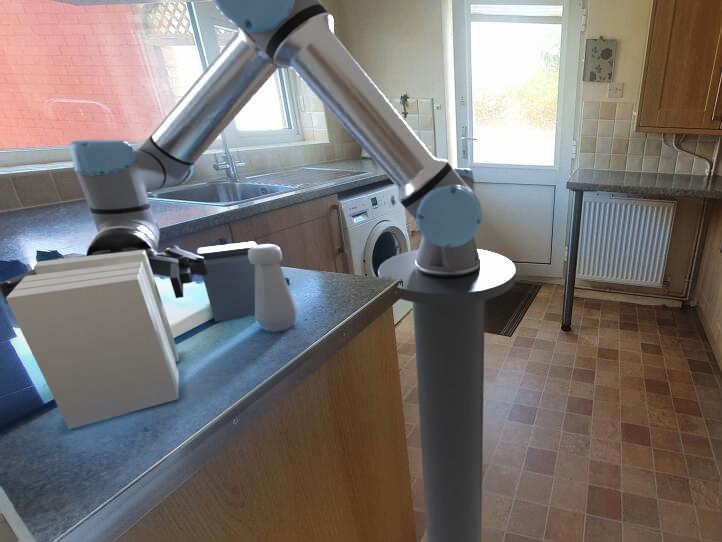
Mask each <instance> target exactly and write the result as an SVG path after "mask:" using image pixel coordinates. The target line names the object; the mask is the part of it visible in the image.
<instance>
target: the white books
mask: <svg viewBox="0 0 722 542" xmlns="http://www.w3.org/2000/svg"><path fill="white" fill-rule="evenodd" d="M6 300H7V302H8V304H7V305H8V306H9V309H10V311H11V313H12V314H13V317H14V319H15V321H16V323H17V325H18V327H19V330H20V331H21V334H22V335H23V338H24V339H25V341H26V343H27V346H28V347H29V350H30V352H31V354H32V356H33V358H34V360H35V362H36V364H37V366H38V368H39V370H40V373H41V374H42V376H43V379H44V381H45V383H46V385H47V387H48V389H49V391H50V393H51V395H52V397H53V399H54V401H55V404H56V406H57V408H58V410H59V412H60V414H61V416H62V419H64V422H65V424H66V426H67V428H68V430H73V429H76V428H80V427H83V426H88V425H91V424H95V423H98V422H101V421H102V422H103V421H105V420H109V419H112V418H115V417H120V416H123V415H127V414H130V413H134V412H136V411H141V410H145V409H148V408H152V407H155V406H160V405H162V404H166V403H169V402H174V401H175V400H179V399H180V397H179V395H180V393H179V392H180V391H179V387H180V386H179V385H180V381H179V380H180V372H179V369H178V366H177V362H175V360H174V356H173V353H172V350H171V347H170V344H169V341H168V338H167V335H166V332H165V329H164V326H163V323H162V320H161V317H160V314H159V311H158V308H157V305H156V302H155V299H154V296H153V293H152V290H151V287H150V284H149V281H148V278H147V275H146V271H145V268H144V265H143V262H133V263H125V264H117V265H109V266H102V267H94V268H86V269H78V270H70V271H62V272H54V273H46V274H38V275H30V276H25V277H24V278H23V279H22V281H21V282H20V283H19V284H18V285H17V286H16V287H15V288H14V289H13V291H12V292H11V293H10V294H9V295H8V296H7V297H6Z"/></svg>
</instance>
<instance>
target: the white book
mask: <svg viewBox="0 0 722 542" xmlns="http://www.w3.org/2000/svg"><path fill="white" fill-rule="evenodd" d="M133 262H143V265H144V268H145V271H146V275H147V278H148V281H149V284H150V287H151V290H152V293H153V296H154V299H155V302H156V305H157V308H158V311H159V314H160V317H161V320H162V323H163V326H164V329H165V332H166V335H167V338H168V341H169V344H170V347H171V350H172V353H173V356H174V360H175V363H177V362H179V359H180V358H179V357H180V356H179V355H180V354H179V351H178V348H177V345H176V342H175V339H174V336H173V333H172V329H171V326H170V323H169V319H168V317H167V314H166V311H165V306H164V304H163V300H162V298H161V294H160V292H159V288H158V285H157V281H156V280H155V276H154V275H153V273H152V270H151V266H150V263H149V260H148V257H147V254H146V251H145V250H137V251H128V252H119V253H111V254H102V255H93V256H86V255H85V256H75V257H66V258H63V259H57V260H53V259H49V260H42V261H41V260H40V261H37V263H36V264H35V265H34V266H33V269H35V271H36V273H37V275H38V274H46V273H54V272H62V271H70V270H78V269H86V268H94V267H102V266H109V265H117V264H125V263H133Z"/></svg>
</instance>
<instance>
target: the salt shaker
mask: <svg viewBox="0 0 722 542" xmlns="http://www.w3.org/2000/svg"><path fill="white" fill-rule="evenodd" d="M248 259H249V262H250V263H251V264H254V265H255V314H254V319H255V320H256V322H257V323H258V324H259V325H260V326H261V327H262V329H263V330H265V331H268V332H271V333H277V332H282V331H287V330H289V329H290V328H291V327H293V326H294V325H295V323H296V319H297V316H298V307H297V305H296V302H295V300H294V297H293V295H292V292H291V290H290V287H289V284H288V282H287V279H286V277H285V275H284V271H283V269H282V266H281V264H280V262H281V261H282V260H283V253H282V250H281V248H280V247H279V245H276V244H271V243H266V244H265V243H262V244H257V246H254V247H252V248H250V249H249V250H248Z"/></svg>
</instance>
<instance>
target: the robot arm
mask: <svg viewBox="0 0 722 542" xmlns="http://www.w3.org/2000/svg"><path fill="white" fill-rule="evenodd" d="M212 3H213V4H214V6H215V7H216V8H217V10H218V11H219V12H220V14H222V15H223V16H224V17H225V18H226V19H227V20H228V21H229V22H230V23H232V24H233V26H235V28H236V33H235V34H234V35H233V36H232V37H231V39H230V40H229V41H228V42H227V44H225V46H223V48H222V50H220V52H219V53H218V54H217V56H216V57H215V58H214V59H213V60H212V61H211V63H210V64H209V65H208V66H207V68H205V70H204V71H203V72H202V73H201V74H200V76H199V77H198V78H197V79H196V81H195V82H194V83H193V84H192V85H191V86H190V88H189V89H187V91H186V92H185V94H184V95H183V96H182V97H181V98H180V99H179V100H178V102H177V103H176V104H175V106H174V107H173V108H172V109H171V110H170V112H169V113H168V114H167V115H166V116H165V118H163V120H162V121H161V122H160V123H159V125H157V127H156V129H154V131H153V132H152V133H151V134H150V136H149V137H148V138H147V139H146V140H145V142H143V144H141V146H140V147H138V148H133V146H132V145H131V143H130V142H129V141H126V140H124V139H79V140H78V139H77V140H73V141H71V142H70V143H69V144H68V150H69V154H70V157H71V160H72V163H73V164H72V166H73V170H74V172H75V174H76V176H77V179H78V182H79V184H80V187H81V190H82V192H83V194H84V197H85V200H86V203H87V205H88V207H89V210H90V214H91V217H92V219H93V222H94V225H95V228H96V231H97V232H96V234H95V235H94V236H93V238H92V240H91V242H90V244H89V245H88V247H87V249H86V255H85V256H93V255H102V254H111V253H119V252H128V251H137V250H145V251H146V254H147V257H148V260H149V263H150V266H151V270H152V273H153V276H154V275H158V276H161V277H162V276H163V277H168V278H169V280H170V283H171V287H172V290H173V293H174V296H175V299H180V298H184V284H185V285H186V284H191V283H193V278H194V275H197V276H202V277H203V276H204V275H207V274H208V271H207V267H206V264H205V260H204V257H201V256H198V254H196V253H195V254H194V253H192V252H189V251H186V250H184V249H180V248H179V246H178V245H170V246H168V247H167V248H165V249H163V251H162V252H158V247H159V246H158V245H159V243H160V238H161V230H160V226H159V223H158V222H157V221H156V220H155V218H154V215H153V211H152V208H151V204H150V201H149V197H148V194H149V193H153V192H155V191H160V190H163V189H167V188H173V187H177V186H180V185H182V184H183V183H185V182H187V181H189V180H190V179H191V178H192V176H193V174H194V164H196V162H197V161H198V160H199V159H200V158H201V157H202V155H203V154H204V153H205V152H206V151H207V150H208V149H209V148H210V147H211V145H212V144H213V143H214V142H215V141H216V139H217V138H218V137H219V136H220V135H221V134H222V133H223V131H225V129H226V128H227V127H228V126H229V125H230V124H231V122H232V121H233V120H234V119H235V118H236V117H237V116H238V115H239V114H240V112H241V111H242V110H243V108H244V107H245V106H246V105H247V104H248V103H249V102H250V101H251V100H252V99H253V97H254V96H255V95H256V94H257V93H258V92H259V90H260V89H261V88H262V87H263V86H264V85H265V84H266V82H267V81H268V80H269V79H270V78H271V77H272V76H273V74H275V72H276V71H277V70H278V69H288V68H290V69H291V70H293V71H294V72H295V74H297V76H299V78H300V79H301V80H302V81H303V82H304V83H305V85H306V86H307V87H308V88H309V89H310V90H311V91H312V92H313V94H314V95H315V96H316V97H317V98H318V99H319V100H320V102H321V103H323V105H324V106H325V107H326V108H327V110H329V112H331V114H332V115H333V116H334V117H335V118H336V119H337V121H338V122H339V123H340V124H341V125H342V126H343V127H344V129H345V130H346V131H347V132H348V133H349V134H350V135H351V136H352V138H353V139H354V140H355V141H356V142H357V144H358V145H360V146H361V148H362V149H363V150H364V151H365V152H366V154H368V156H369V157H370V158H371V159H372V160H373V161H374V162H375V163H376V165H377V166H378V167H379V168H380V169H381V171H383V172H384V174H385V175H386V176H387V177H388V178H389V179H390V180H391V181H392V183H393V184H394V185H395V186H396V187H397V189H398V198H397V199H398V202H399V203H400V204H401V205H402V207H404V209H405V210H406V211H407V212H408V213H409V214H410V215H411V216H412V218H414V220H415V221H416V224H417V226H418V230H420V233H421V238H420V239H421V240H420V243H419V246H418V249H417V250H418V253H417V257H416V261H415V263H416V270H417V271H418V272H419V273H421V274H423V275H425V276H429V277H434V278H445V279H449V278H461V277H466V276H470V275H472V274H475V273H476V272H478V271H479V270H480V268H481V260H480V256H479V253H478V250H477V249H478V248H477V243H476V242H475V241H476V240H475V238H474V237H475V235H477V233H478V231H479V229H480V227H481V223H482V215H483V214H482V213H483V212H482V207H481V203H480V201H479V199H478V197H477V196H476V195H475V193H474V184H475V178H474V173H473V171H472V170H471V169H470V168H464V167H463V168H461V167H458V168H457V167H453V166H452V165H451V164H450V162H449V161H448V160H447V159H444V158H436V157H435V156H434V155H432V153H431V152H430V151H429V150H428V148H427V147H426V146H425V144H424V143H423V141H421V140H420V139H419V137H418V136H417V135H416V134H415V132H414V131H413V130H412V128H411V127H410V126H409V125H408V123H407V122H406V121H405V120H404V119H403V117H402V116H401V115H400V113H398V111H397V109H395V108H394V106H393V105H392V104H391V103H390V101H389V100H388V99H387V98H386V96H385V95H384V94H383V92H381V90H380V89H379V87H377V85H376V84H375V82H374V81H372V79H371V78H370V77H369V75H368V74H367V73H366V72H365V70H364V69H363V68H362V67H361V66H360V64H359V63H358V62H357V60H355V58H354V57H353V56H352V55H351V53H350V51H348V50H347V48H346V47H345V46H344V45H343V43H342V42H341V40H339V38H338V37H337V35H335V33H334V18H333V16H332V14H331V13H330V11H329V10H328V9H327V8H326V7H325V5H324V4H323V3H322V2H321V0H212ZM57 259H64V258H63V257H56V258H53V259H52V260H57ZM30 275H37V273H36V271H35V269H34V268H33V269H31V270H27V271H26V272H23V273H21V274H18V275H16V276H13V277H11V278H8V279H6V280H4V281H1V282H0V293H1V295H2V297H3V299H4V301H5V303H6V304H7V305H9V304H8V302H7V300H6V297H7V296H8V295H9V294H10V293H11V292H12V291H13V289H14V288H15V287H16V286H17V285H18V284H19V283H20V282H21V281H22V279H23V278H24V277H25V276H30Z"/></svg>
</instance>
